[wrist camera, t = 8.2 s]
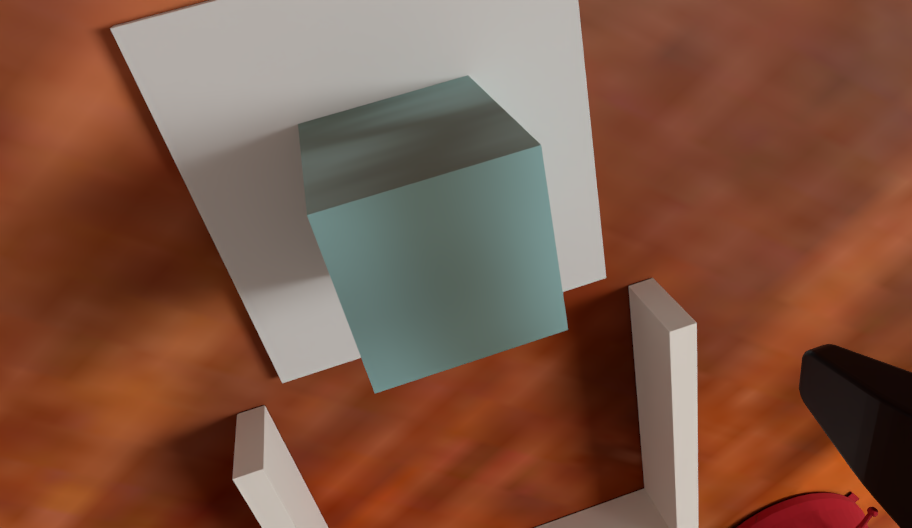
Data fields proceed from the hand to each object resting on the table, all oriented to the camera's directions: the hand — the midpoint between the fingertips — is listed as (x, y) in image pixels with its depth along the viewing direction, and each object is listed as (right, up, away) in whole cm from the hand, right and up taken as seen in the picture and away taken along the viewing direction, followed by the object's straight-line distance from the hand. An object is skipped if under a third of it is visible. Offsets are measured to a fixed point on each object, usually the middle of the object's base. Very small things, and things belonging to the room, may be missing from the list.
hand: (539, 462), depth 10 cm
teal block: (-3, +6, +10) cm, 12 cm away
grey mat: (-3, +6, +10) cm, 12 cm away
